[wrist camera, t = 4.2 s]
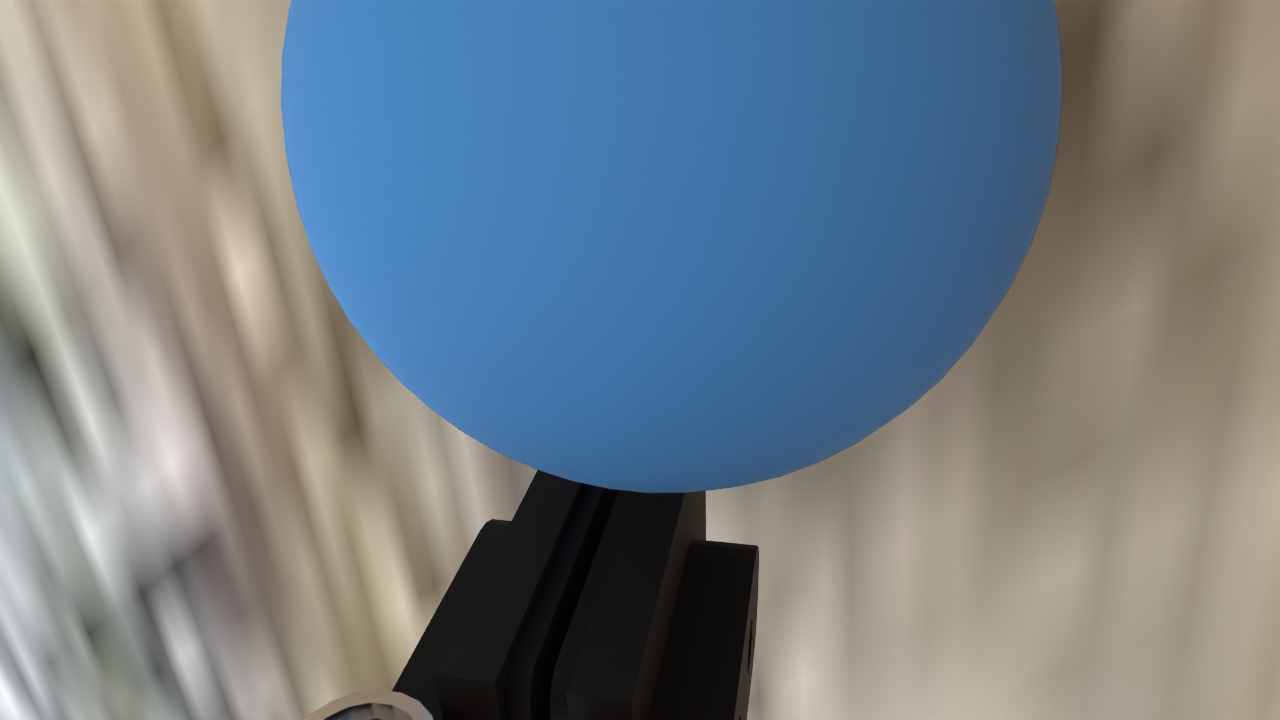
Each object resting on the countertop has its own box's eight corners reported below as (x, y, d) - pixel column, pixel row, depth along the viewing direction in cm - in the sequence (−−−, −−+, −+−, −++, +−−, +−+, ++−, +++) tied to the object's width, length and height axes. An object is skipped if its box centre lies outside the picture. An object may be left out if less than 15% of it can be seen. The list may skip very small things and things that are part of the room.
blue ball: (1130, 41, 9) (1489, 254, 4) (733, 394, 12) (638, 784, 7) (690, -416, 8) (396, -931, 3) (376, 88, 11) (-50, 270, 6)
